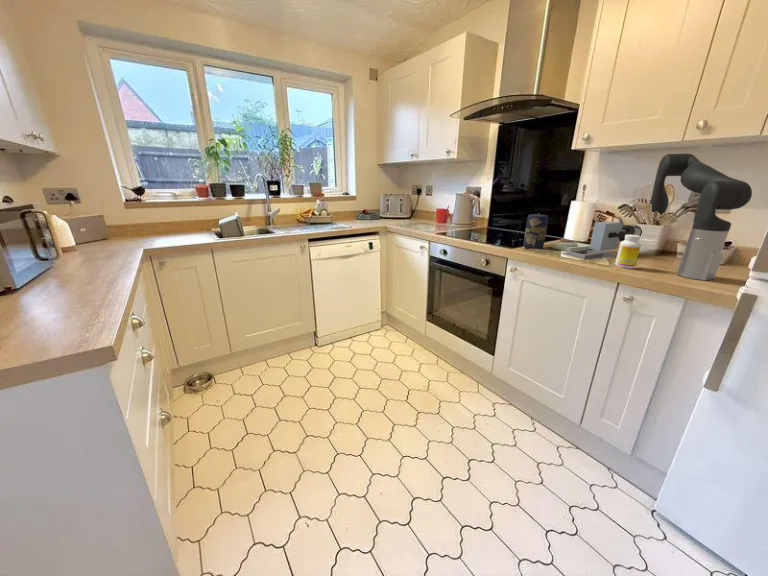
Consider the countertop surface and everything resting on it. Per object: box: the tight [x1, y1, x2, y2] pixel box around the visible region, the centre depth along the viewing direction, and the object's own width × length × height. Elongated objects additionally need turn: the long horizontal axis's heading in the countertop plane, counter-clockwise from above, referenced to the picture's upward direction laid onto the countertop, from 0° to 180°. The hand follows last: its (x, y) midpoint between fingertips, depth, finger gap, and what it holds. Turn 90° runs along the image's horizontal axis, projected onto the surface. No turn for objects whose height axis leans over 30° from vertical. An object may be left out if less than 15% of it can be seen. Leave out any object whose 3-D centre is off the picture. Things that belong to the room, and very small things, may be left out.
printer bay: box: [560, 249, 618, 261], centre depth 144 cm, size 14×27×2 cm, turn 112°
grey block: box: [589, 216, 624, 251], centre depth 143 cm, size 5×12×14 cm, turn 112°
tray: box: [552, 241, 591, 252], centre depth 156 cm, size 10×17×2 cm, turn 112°
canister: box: [522, 212, 550, 250], centre depth 157 cm, size 10×10×18 cm
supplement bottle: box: [614, 235, 642, 270], centre depth 124 cm, size 7×7×13 cm
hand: (603, 234), depth 142 cm, fingers closed on grey block, 5 cm apart
